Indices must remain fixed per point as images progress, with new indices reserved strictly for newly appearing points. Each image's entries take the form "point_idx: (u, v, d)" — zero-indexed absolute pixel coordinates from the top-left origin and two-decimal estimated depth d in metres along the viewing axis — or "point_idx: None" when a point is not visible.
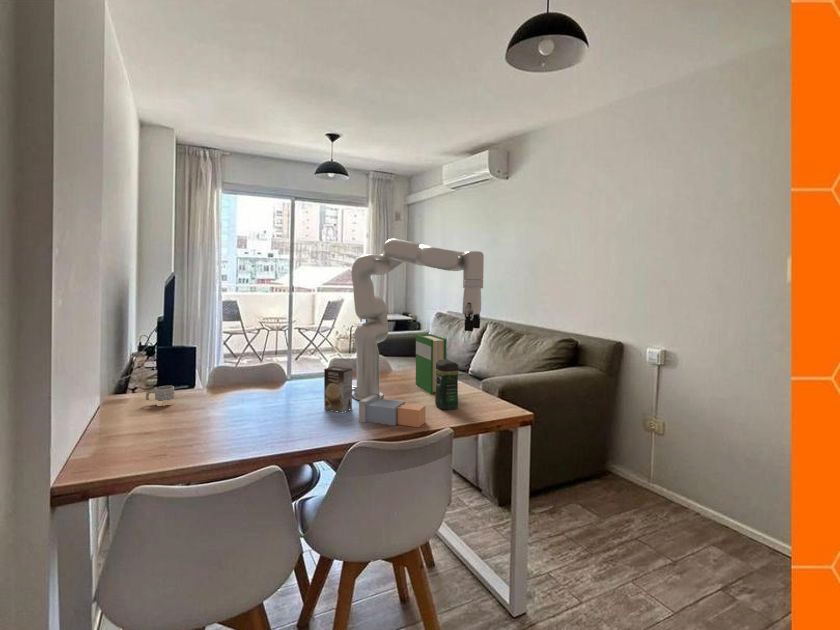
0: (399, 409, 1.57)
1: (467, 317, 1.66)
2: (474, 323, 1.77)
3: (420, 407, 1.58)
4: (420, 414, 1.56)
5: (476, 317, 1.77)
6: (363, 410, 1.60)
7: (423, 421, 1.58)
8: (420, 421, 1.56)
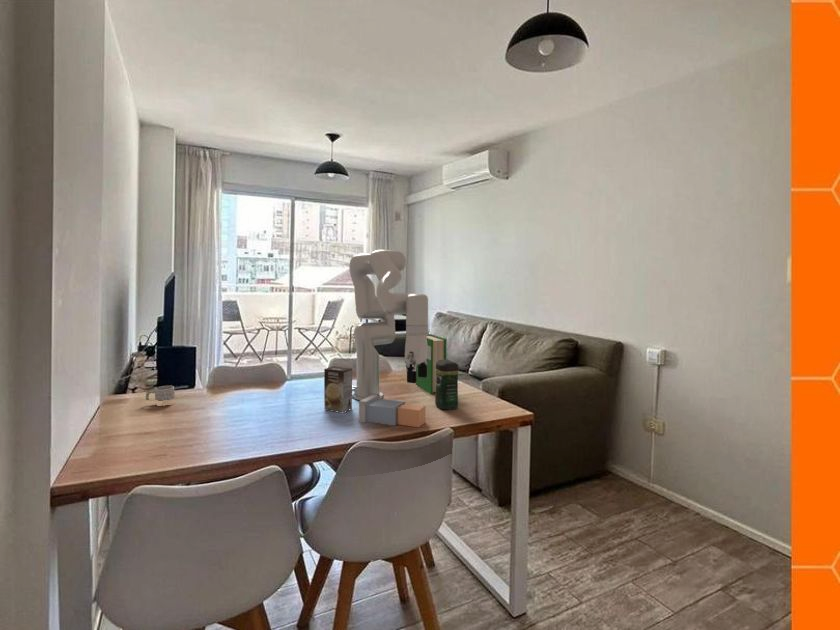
0: (399, 409, 1.57)
1: (409, 368, 1.50)
2: (420, 371, 1.61)
3: (420, 407, 1.58)
4: (420, 414, 1.56)
5: (422, 365, 1.60)
6: (363, 410, 1.60)
7: (423, 421, 1.58)
8: (420, 421, 1.56)
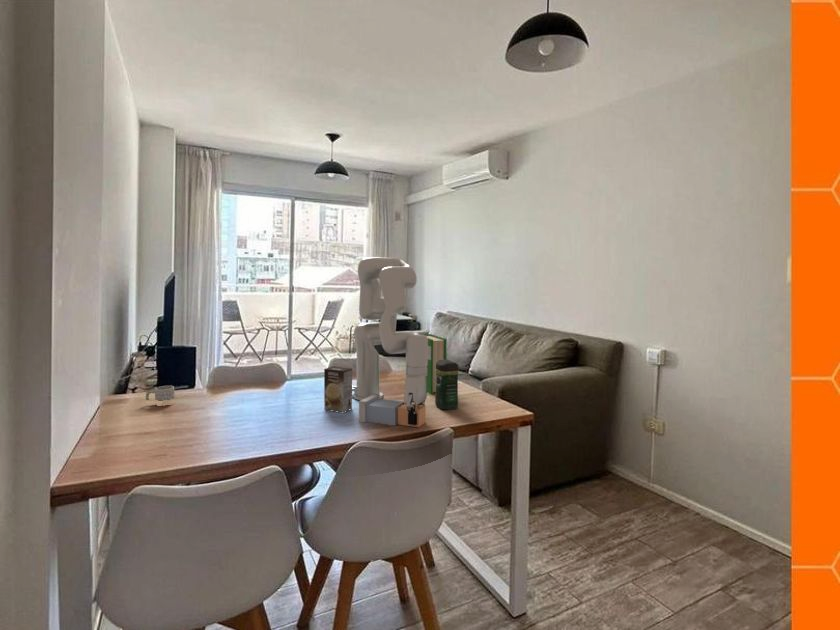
0: (399, 409, 1.57)
1: (410, 411, 1.53)
2: None
3: (420, 407, 1.58)
4: (420, 414, 1.56)
5: None
6: (363, 410, 1.60)
7: (423, 421, 1.58)
8: (420, 421, 1.56)
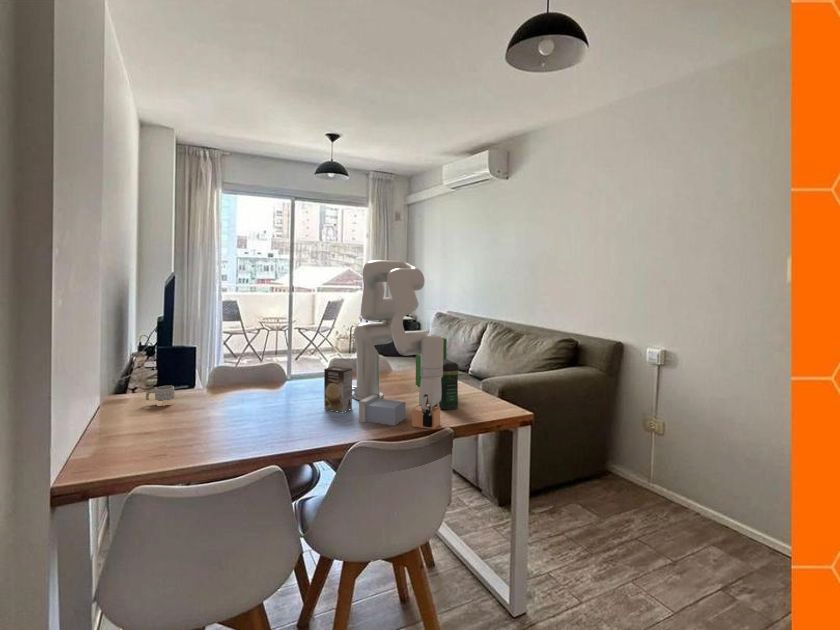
0: (414, 411, 1.55)
1: (425, 413, 1.51)
2: None
3: (435, 409, 1.56)
4: (435, 416, 1.54)
5: None
6: (363, 410, 1.60)
7: (438, 423, 1.56)
8: (435, 423, 1.54)
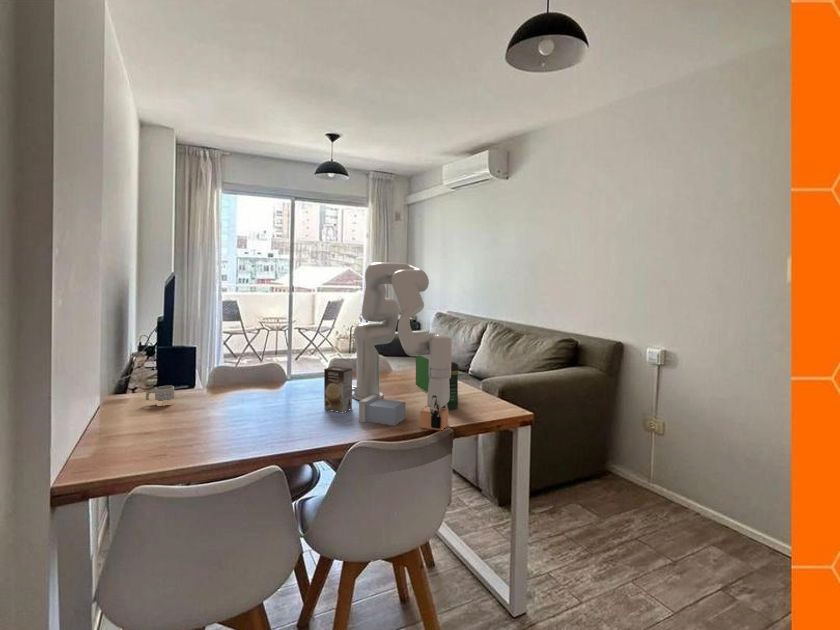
0: (422, 412, 1.54)
1: (433, 414, 1.50)
2: None
3: (443, 410, 1.54)
4: (444, 417, 1.53)
5: None
6: (363, 410, 1.60)
7: (446, 424, 1.55)
8: (443, 424, 1.53)
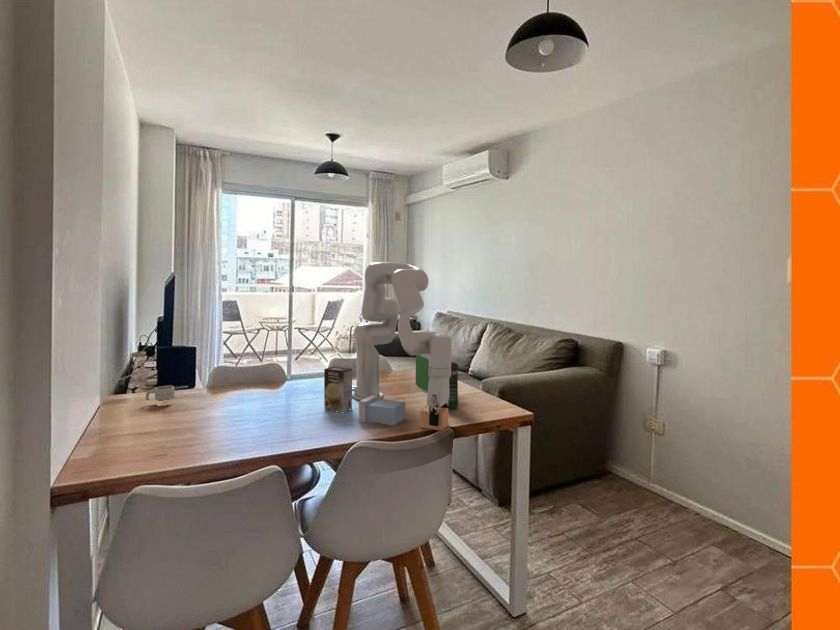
0: (422, 412, 1.54)
1: (431, 412, 1.48)
2: None
3: (443, 410, 1.54)
4: (444, 417, 1.53)
5: (444, 405, 1.59)
6: (363, 410, 1.60)
7: (446, 424, 1.55)
8: (443, 424, 1.53)
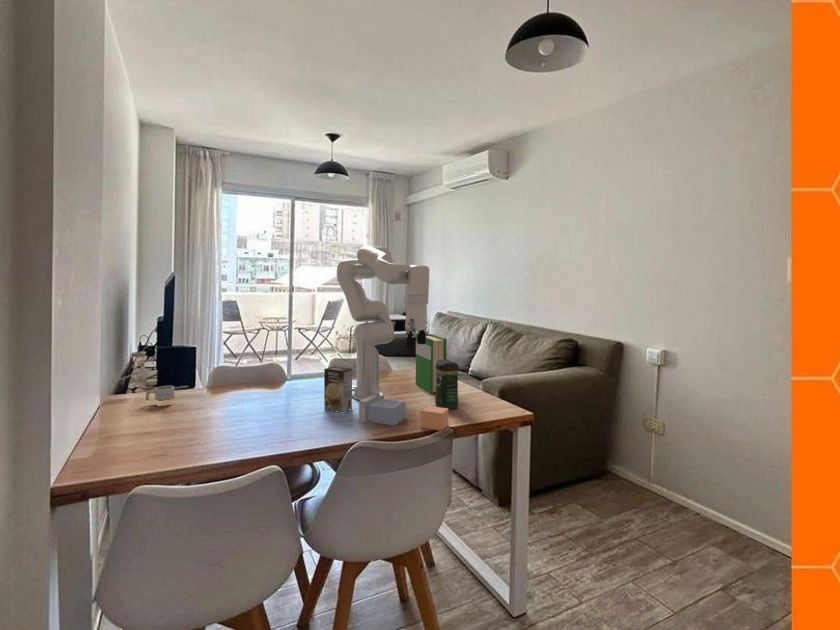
0: (422, 412, 1.54)
1: (408, 334, 1.59)
2: (420, 339, 1.71)
3: (443, 410, 1.54)
4: (444, 417, 1.53)
5: (422, 333, 1.70)
6: (363, 410, 1.60)
7: (446, 424, 1.55)
8: (443, 424, 1.53)
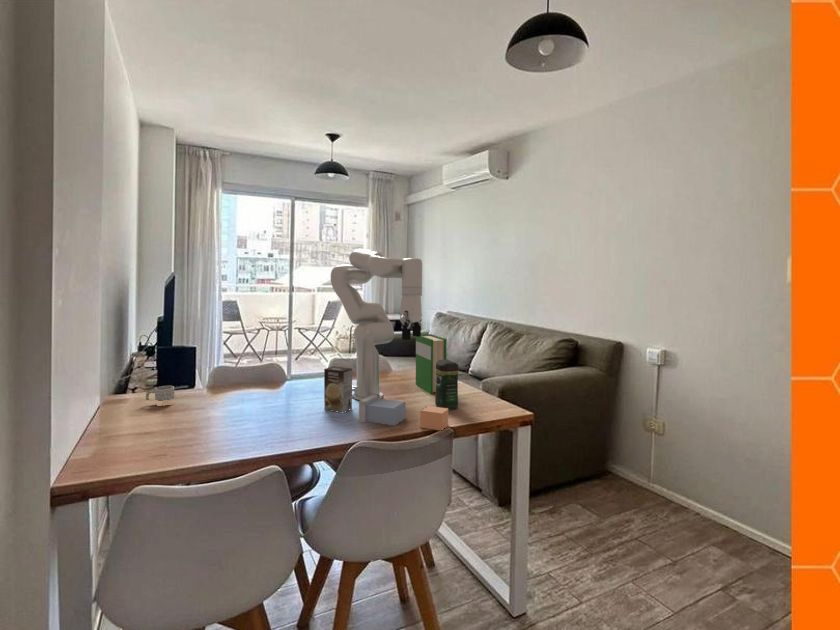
0: (422, 412, 1.54)
1: (404, 325, 1.63)
2: (415, 331, 1.74)
3: (443, 410, 1.54)
4: (444, 417, 1.53)
5: (417, 325, 1.73)
6: (363, 410, 1.60)
7: (446, 424, 1.55)
8: (443, 424, 1.53)
